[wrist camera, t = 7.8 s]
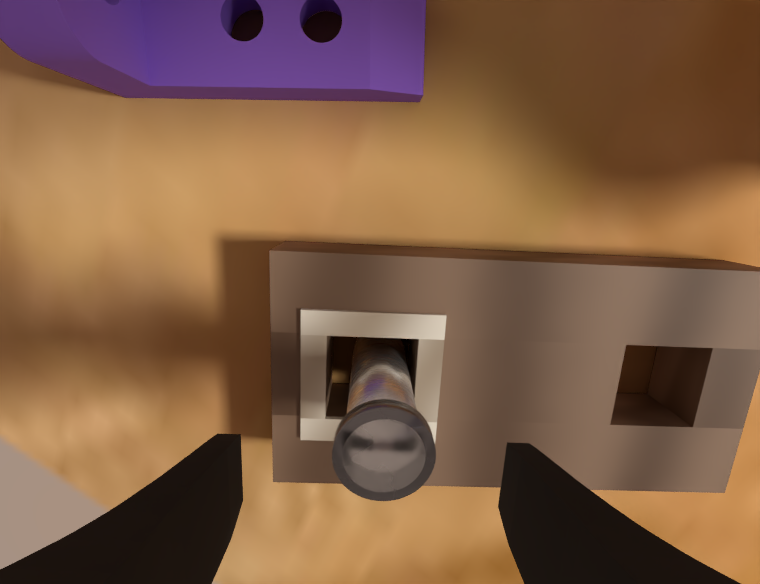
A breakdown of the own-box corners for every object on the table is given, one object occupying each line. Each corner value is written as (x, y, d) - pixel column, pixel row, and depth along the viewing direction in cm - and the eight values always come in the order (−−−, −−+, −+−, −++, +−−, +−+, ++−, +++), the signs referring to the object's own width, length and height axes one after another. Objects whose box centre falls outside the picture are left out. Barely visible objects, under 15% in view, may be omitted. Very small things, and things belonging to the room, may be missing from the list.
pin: (420, 335, 20) (452, 430, 12) (395, 388, 20) (411, 513, 12) (360, 312, 19) (354, 394, 11) (337, 368, 20) (316, 482, 12)
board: (723, 260, 19) (792, 274, 16) (676, 451, 21) (728, 496, 18) (285, 240, 18) (267, 251, 15) (286, 440, 21) (271, 485, 18)
